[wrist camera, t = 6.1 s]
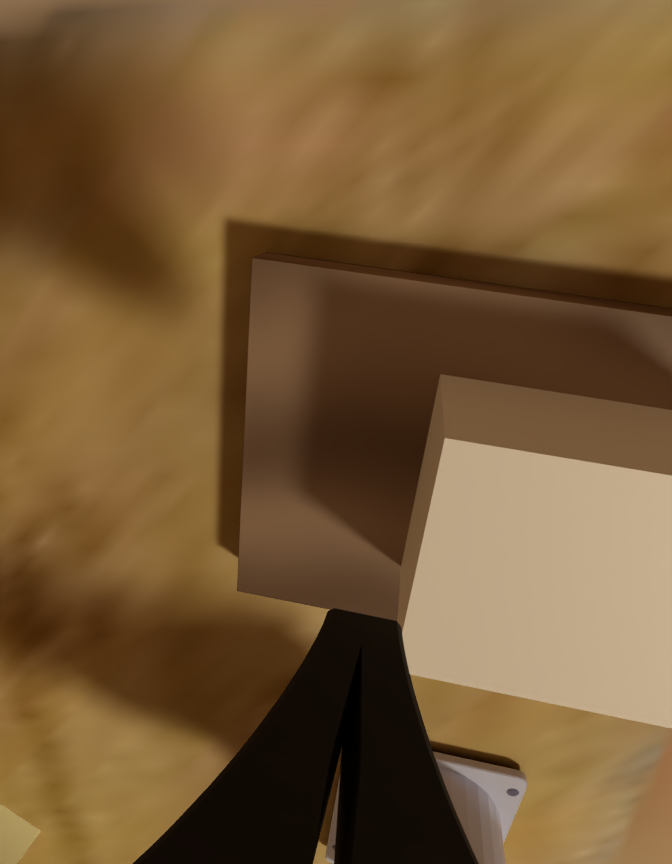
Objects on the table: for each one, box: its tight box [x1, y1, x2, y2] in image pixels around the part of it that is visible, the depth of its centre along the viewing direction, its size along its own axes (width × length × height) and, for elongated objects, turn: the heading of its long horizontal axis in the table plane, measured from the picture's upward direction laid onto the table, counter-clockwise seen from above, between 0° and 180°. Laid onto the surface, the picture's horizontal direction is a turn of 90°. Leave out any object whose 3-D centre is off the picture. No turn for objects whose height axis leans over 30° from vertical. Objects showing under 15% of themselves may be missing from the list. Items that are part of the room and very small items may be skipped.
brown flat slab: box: [237, 252, 672, 621], centre depth 18 cm, size 12×16×2 cm
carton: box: [397, 374, 672, 728], centre depth 15 cm, size 7×4×8 cm
